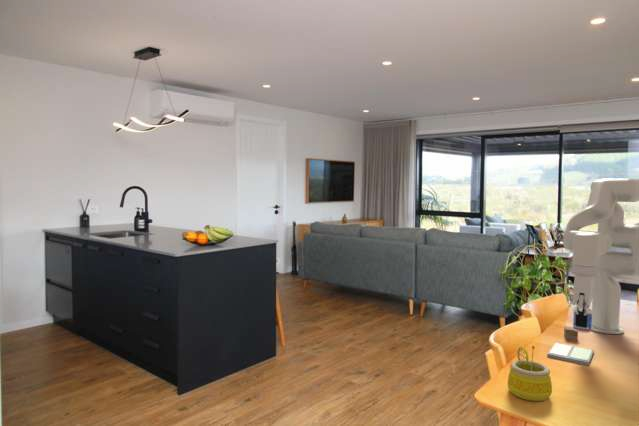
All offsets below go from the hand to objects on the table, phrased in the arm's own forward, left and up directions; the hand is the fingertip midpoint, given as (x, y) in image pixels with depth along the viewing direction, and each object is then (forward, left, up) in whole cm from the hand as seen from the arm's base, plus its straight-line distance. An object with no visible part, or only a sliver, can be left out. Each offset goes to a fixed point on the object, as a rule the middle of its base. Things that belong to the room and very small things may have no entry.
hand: (582, 324), depth 152 cm
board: (0, -3, -11) cm, 12 cm away
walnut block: (-19, -6, -11) cm, 23 cm away
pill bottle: (0, 0, -2) cm, 2 cm away
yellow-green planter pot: (+40, -7, -11) cm, 42 cm away
